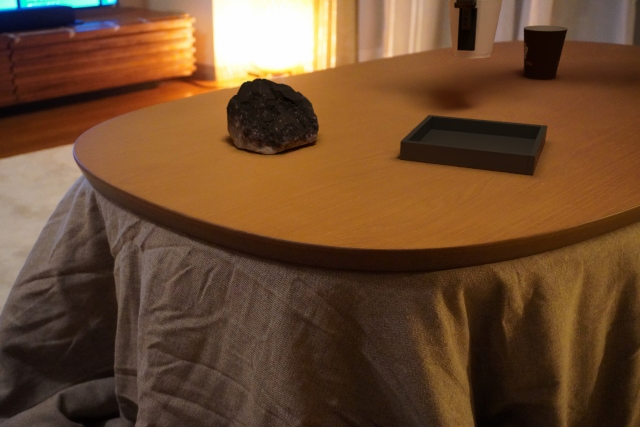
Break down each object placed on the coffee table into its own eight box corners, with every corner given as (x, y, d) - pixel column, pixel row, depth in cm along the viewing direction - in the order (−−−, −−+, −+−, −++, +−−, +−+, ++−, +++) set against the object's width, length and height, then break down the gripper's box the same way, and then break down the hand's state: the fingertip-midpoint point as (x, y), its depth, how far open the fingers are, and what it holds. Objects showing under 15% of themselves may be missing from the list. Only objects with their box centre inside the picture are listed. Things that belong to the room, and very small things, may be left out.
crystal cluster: (331, 153, 90) (333, 84, 87) (239, 157, 86) (239, 85, 83) (302, 136, 102) (303, 74, 99) (220, 138, 98) (219, 74, 95)
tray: (545, 142, 91) (547, 125, 90) (532, 175, 79) (535, 155, 78) (427, 130, 98) (428, 114, 96) (399, 159, 85) (400, 141, 84)
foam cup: (485, 49, 110) (490, -30, 104) (511, 57, 101) (518, -28, 96) (434, 52, 108) (437, -27, 103) (456, 61, 100) (461, -25, 94)
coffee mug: (556, 82, 127) (563, 31, 123) (514, 78, 131) (519, 29, 127) (567, 71, 136) (573, 24, 132) (526, 68, 140) (532, 23, 136)
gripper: (471, -100, 106) (464, 35, 115) (439, -106, 87) (433, 55, 96) (517, -103, 103) (505, 36, 112) (494, -110, 84) (482, 57, 93)
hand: (472, 45), depth 104 cm, fingers closed on foam cup, 9 cm apart
